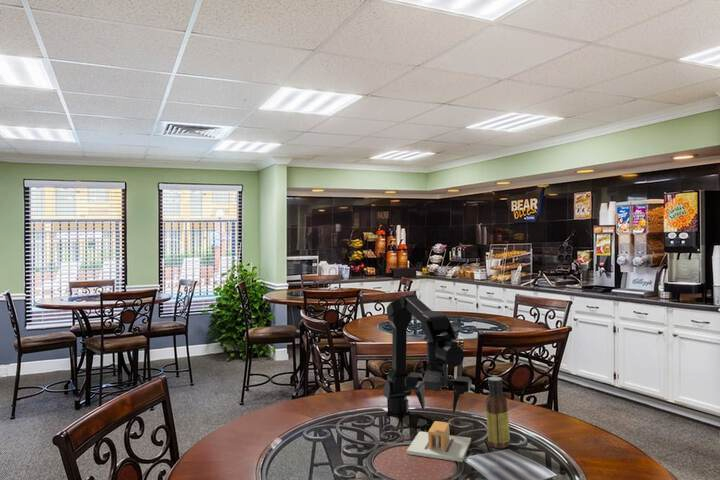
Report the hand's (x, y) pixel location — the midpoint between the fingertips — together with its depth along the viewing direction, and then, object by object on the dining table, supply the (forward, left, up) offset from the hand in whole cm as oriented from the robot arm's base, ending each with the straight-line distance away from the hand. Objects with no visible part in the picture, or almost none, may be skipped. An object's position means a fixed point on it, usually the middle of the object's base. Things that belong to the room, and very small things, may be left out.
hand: (438, 410), depth 149 cm
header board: (0, 0, -11) cm, 11 cm away
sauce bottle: (+16, +7, -11) cm, 21 cm away
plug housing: (0, 0, -10) cm, 10 cm away
